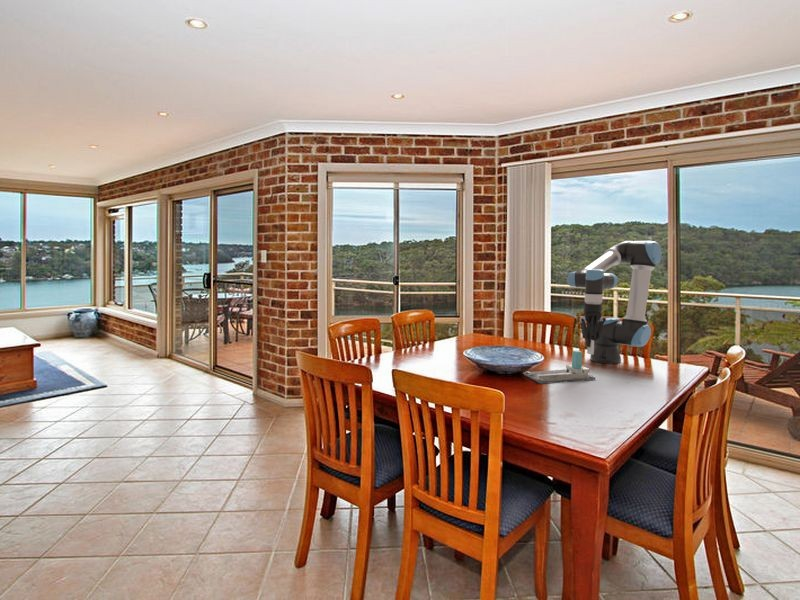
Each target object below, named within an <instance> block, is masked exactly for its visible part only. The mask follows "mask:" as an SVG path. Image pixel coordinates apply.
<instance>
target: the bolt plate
mask: <svg viewBox="0 0 800 600" xmlns="http://www.w3.org/2000/svg"><path fill="white" fill-rule="evenodd" d="M557 373H567V369H556V370H541V371H539V370H538V371H528V370H526V371H525V372H524V371H523V372H522V374H524V375H523V376H525V377H527V378H529V379H531V380H533V381H534V382H537V383H538V384H540V385H541V384H555V383H569V382H570V383H571V382H583V381H585V382H586V381H596V377H595V376H593V375H591V374H588V377H580V378H565V379H551V380H544V379H540V380H538V379H537V375H541V374H557ZM569 373H572V371H571V370H569Z"/></svg>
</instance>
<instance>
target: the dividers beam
mask: <svg viewBox="0 0 800 600" xmlns="http://www.w3.org/2000/svg"><path fill="white" fill-rule="evenodd" d="M590 370H591V369H590V368H589V367H586V366H582V373H577V374H576V373H574V372H572V373H557V374H541V375H537V379H538V380H540V379H544V380H551V379H565V378H580V377H588V375H589V374H590V372H591V371H590Z"/></svg>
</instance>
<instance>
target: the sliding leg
mask: <svg viewBox="0 0 800 600" xmlns="http://www.w3.org/2000/svg"><path fill="white" fill-rule="evenodd" d="M571 358H572V359H571V360H572V361H571V363H572V364H566V365H565V370H567V373H569V370H571V371H572V372H574V373H576V374H577V373H582V367H583V365H582V363H583V351H581V350H572V355H571Z"/></svg>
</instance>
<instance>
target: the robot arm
mask: <svg viewBox="0 0 800 600" xmlns="http://www.w3.org/2000/svg"><path fill="white" fill-rule="evenodd" d="M662 253H663V251H662V248H661V246H660V244H659V243H658V241H653V240H634V241H633V240H625V241H622V242H619V243H616V244H614V245H612V246H610V247H609V248H606V250H605V251H604V252H603V254H602V255H601V256H599V257H598V258H596V259H595V260H593V261H592V262H591V263H589V264H588V265H586V266H585V267H583V268H582V269H580V270H579V271H570V272H569V274H568V275H567V278H566V279H567V284H568V286H570V287H571V288H582V289H584V304H583V306H584V307H583V311H584V314H583V315H582V317H579V318H578V321H579V323H580V329H581V334H582V339H585V340H586V344H585V347H586V349H587V351H586V353H587V354H589V355H590V360H591V362H595V363H597V364H598V363H600V364H606V365H607V364H609V365H616V364H619V363H621V362H622V356H621V353H620V350H619V349H620V348H619V344H620V345H625V346H631V347H637V348H639V347H640V348H641V347H644V346H646V345H647V343H649V341H650V338H651V335H652V330H651V326H650V325H649V324H648V320H647V319H646V318H645V317H646V311H647V304H648V297H649V289H650V284H651V283H650V282H651V276H652V271H653V270H655V269H656V265H659V264H661V261H662V258H663V257H662V255H663V254H662ZM619 264H629V267H630V268H631V269H632V272H631V280H630V286H629V291H628V292H629V293H628V300H627V308H626V315H625V316H623V317H622V320H621V319H620V317H619V318H618V317H603V316H602V309H603V304H602V303H603V297H604V296H603V294H604V291H603V290H611V289H615V287H617V285H618V282H619V279H618V277H617V276H616V275H615V274H614V273H611V272H606V271H607V270H609V269H611V268H612V267H614V266H618V265H619Z"/></svg>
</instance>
